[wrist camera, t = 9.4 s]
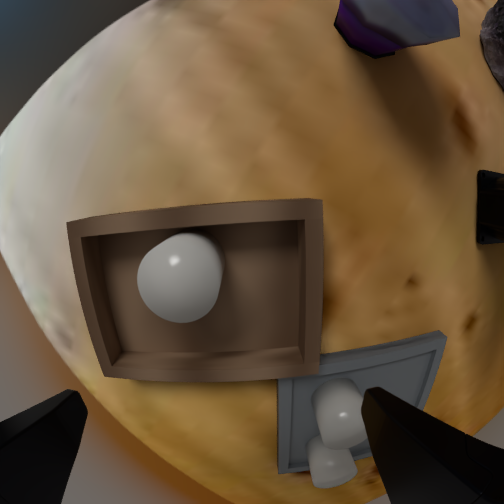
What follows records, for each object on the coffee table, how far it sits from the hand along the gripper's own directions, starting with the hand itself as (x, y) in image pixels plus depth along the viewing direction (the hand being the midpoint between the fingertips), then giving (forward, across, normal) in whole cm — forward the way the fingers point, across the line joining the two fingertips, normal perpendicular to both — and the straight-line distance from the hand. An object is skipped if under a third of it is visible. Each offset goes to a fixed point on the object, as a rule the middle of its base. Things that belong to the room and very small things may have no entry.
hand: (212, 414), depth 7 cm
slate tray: (+12, -10, +14) cm, 21 cm away
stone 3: (+11, -8, +17) cm, 22 cm away
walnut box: (+12, +2, 0) cm, 12 cm away
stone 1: (+11, +2, -2) cm, 11 cm away
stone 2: (+11, -8, +10) cm, 17 cm away
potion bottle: (+12, -11, -19) cm, 25 cm away
